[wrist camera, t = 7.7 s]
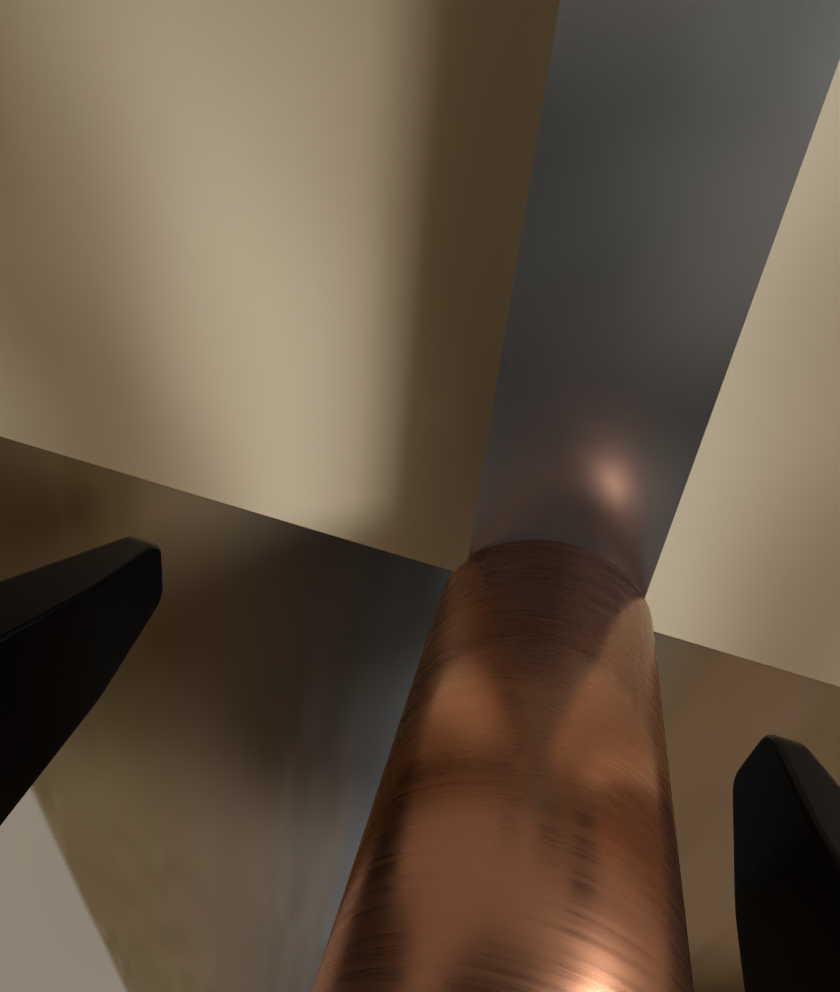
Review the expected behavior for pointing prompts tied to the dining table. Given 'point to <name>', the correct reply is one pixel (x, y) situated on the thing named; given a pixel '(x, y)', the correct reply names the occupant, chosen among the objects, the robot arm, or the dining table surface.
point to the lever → (585, 516)
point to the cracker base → (368, 288)
